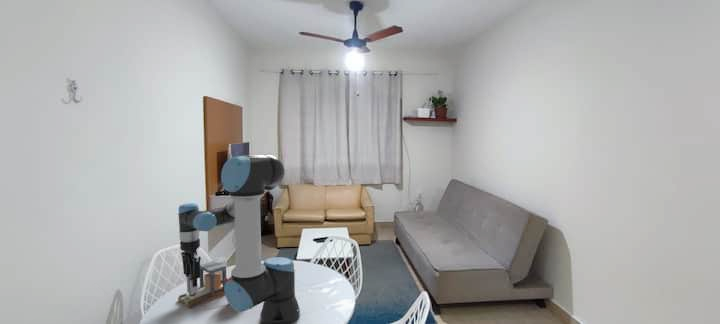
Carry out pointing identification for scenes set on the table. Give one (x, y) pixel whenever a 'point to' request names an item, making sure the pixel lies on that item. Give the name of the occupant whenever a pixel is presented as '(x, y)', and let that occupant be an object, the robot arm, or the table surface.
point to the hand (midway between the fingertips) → (192, 291)
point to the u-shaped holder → (207, 286)
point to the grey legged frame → (210, 268)
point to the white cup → (222, 261)
